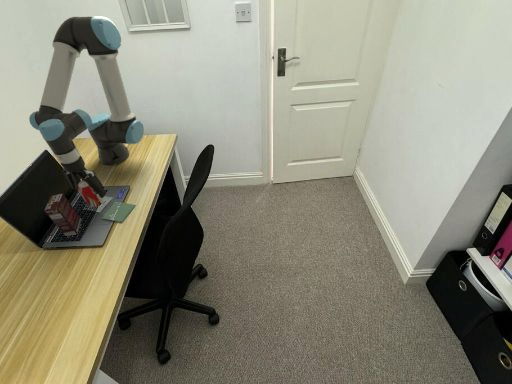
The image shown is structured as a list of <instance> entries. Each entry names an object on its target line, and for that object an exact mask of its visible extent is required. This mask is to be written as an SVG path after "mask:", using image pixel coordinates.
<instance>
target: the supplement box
mask: <svg viewBox="0 0 512 384" xmlns="http://www.w3.org/2000/svg"><path fill="white" fill-rule="evenodd" d="M43 211H44V213H45V214H46V215H47V216H48V218H49V219H50V221H52V222H53V223H54V225H56V227H57V228H58V229H59V230H60V232H61V233H62V234H63V235H64V237H65V236H70V235H76V234H78V231H79V228H80V229H81V227H80V223H81V220H83V219H82V217H81V216H80V215H79V214H78V212H77V211H76V209H75V208H74V206H73V205H72V204H71V202H70V201H69V200H68V198H67V197H66V196H65V194H64V193H57V194H52V195H50V197H49V199H48V201H47V203H46V204H45V208H44V209H43ZM79 232H80V231H79ZM78 235H79V234H78Z"/></svg>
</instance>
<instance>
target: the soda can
mask: <svg viewBox="0 0 512 384" xmlns="http://www.w3.org/2000/svg"><path fill="white" fill-rule="evenodd" d="M78 190H79V192H80V193H81V194H80V193H79V192H78V193H79V194H80V196H81V195H82V196H83V197H82V196H81V197H82V198H84V199H83V200H84V202H85V201H86V202H85V204H86V203H87V204H88V205H89V206H90V207H97V206H100V205H101V202H100V201H99V199H98V197H97V196H96V194H95V193H96V192H95V191H94V190H93V189H92V188H91V187H90V186H89V185H88V184H87V183H86V182H84V181H83V180H82V179H81V181H80V182H79V183H78ZM78 190H77V191H78ZM97 190H98V189H97Z"/></svg>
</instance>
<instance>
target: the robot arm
mask: <svg viewBox="0 0 512 384" xmlns="http://www.w3.org/2000/svg"><path fill="white" fill-rule="evenodd" d="M121 43H122V37H121V32H120V31H119V28H118V27H117V25H116V24H115V23H114V22H113V21H112V20H111V19H110V18H108V17H106V16H97V15H95V16H72V17H69V18H67V19H66V20H64V21H63V22H62V23H61V24H60V26H59V27H58V28H57V31H56V33H55V35H54V38H53V40H52V47H53V49H54V51H53V53H52V58H51V63H50V66H49V70H48V73H47V77H46V80H45V84H44V88H43V93H42V96H41V101H40V104H39V108H38V110H36V111H33V112H32V113H31V114H30V115H29V119H28V120H29V123H30V125H31V127H32V128H33V129H35V130H37V131H39V133H40V134H41V136H42V138H43V140H44V141H45V142H46V144H47V146H48V147H49V148H50V150H51V151H52V153H53V155H55V157H56V158H57V160H58V162H59V163H60V165H61V167H62V168H63V169H62V171H61V173H62V174H63V175H64V176H65V178H66V180H67V182H68V184H69V186H70V187H71V189H72V190H73V189H75V190H76V191H77V192H78V194H79V195H80V196H81V197H82V198H83V196H82V195H81V193H80V192H79V190H78V183H79V182H80V181H81V180H83V181H84V182H86V183H87V184H88V185H89V186H90V187H91V188H92V189H93V190H94V191H95V192H96V193H95V194H96V196H97V197H98V199H99V201H100V202H101V204H104V203H105V202H106V198H105V196H106V195H105V193H104V192H103V191H104V190H105V189H106V187H105V185H104V184H103V183H102V182H101V180H100V179H99V177H98V176H97V175H96V172H95V171H94V170H91V171H89V170H88V169H87V168H86V166H85V165H86V164H85V161H84V159H83V157H82V155H81V153H80V151H79V149H78V148H77V146H76V145H75V143H74V141H73V140H75V138H77V137H78V136H79V135H81V134H82V133H84V132H85V131H86V130H87V131H88V133H89V134H90V136H91V139H92V140H93V142H94V144H95V146H96V148H97V152H98V160H99V162H100V163H101V164H102V165H105V166H111V165H117V164H120V163H122V162H124V161H125V160H126V159H128V158H129V156H130V150H129V148H128V147H127V146H126V145H137V144H139V143H140V142H141V141H142V139H143V137H144V134H145V128H144V124H143V122H142V121H141V120H139V119H137V117H136V114H135V113H133V112H132V111H131V108H130V105H129V101H128V100H129V99H128V97H127V93H126V89H125V86H124V81H123V79H122V76H121V75H122V74H121V71H120V67H119V63H118V60H117V56H118V55H119V49H120V48H121V46H122V45H121ZM83 50H86V51H87V53H88V56H89V57H91V58H92V59H93V60H94V62H95V65H96V70H97V73H98V76H99V78H100V82H101V85H102V88H103V92H104V95H105V97H106V102H107V104H108V108H109V111H110V114H111V115H110V114H109V113H100V114H99V113H98V114H96V115H94V116H92V117H91V116H90V114H89V113H88V112H87V111H85V110H83V109H81V108H80V109H79V108H78V109H75V110H72V111H71V112H70V113H69V112H64V108H65V104H66V100H67V96H68V92H69V88H70V84H71V81H72V76H73V72H74V69H75V65H76V61H77V59H78V58H80V55H81V52H82V51H83ZM125 144H126V145H125ZM97 189H98V190H97ZM83 200H84V198H83ZM84 202H85V203H86V201H85V200H84Z"/></svg>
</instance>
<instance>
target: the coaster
mask: <svg viewBox="0 0 512 384" xmlns="http://www.w3.org/2000/svg"><path fill="white" fill-rule="evenodd" d="M120 203H121V204H120V205H119V204H118V205H117V203H116V204H115V202H114V203H113V204H112V205H111V207H109V209H108V210H106V213H105V212H104V214H103V216H102V217H101V219H102V220H104V219H109V220H108V221H110V218H111V217H110V216H109V215H112V214H115V211H116V210H117V206H120V207H119V208H118V211H117V213H116V215H115V217H114V221H113V222H115V223H116V222H118V223H124V221H126V219H127V218H128V217H129V215H130V214H131V212H133V210H134V209H135V208H136V204H133V203H126V202H120Z"/></svg>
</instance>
